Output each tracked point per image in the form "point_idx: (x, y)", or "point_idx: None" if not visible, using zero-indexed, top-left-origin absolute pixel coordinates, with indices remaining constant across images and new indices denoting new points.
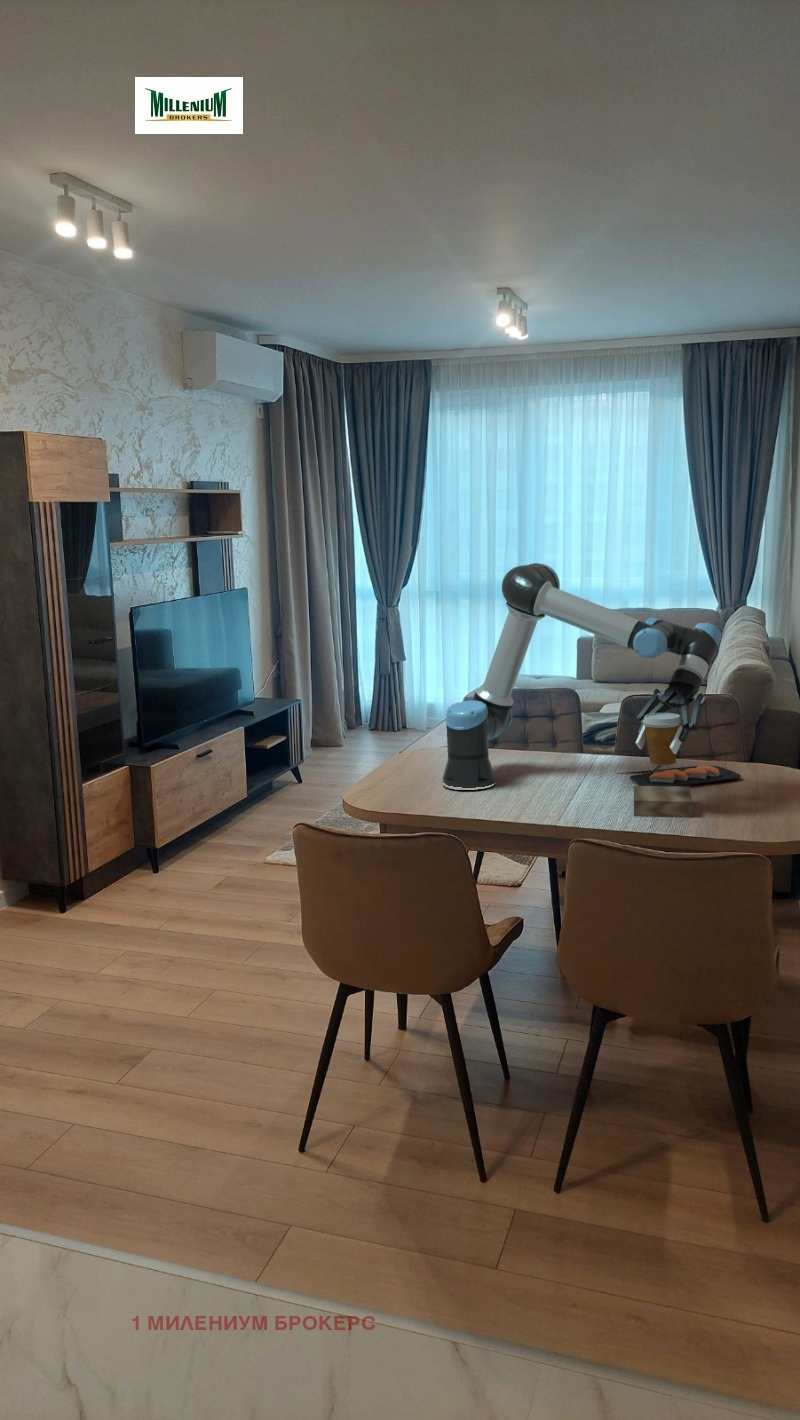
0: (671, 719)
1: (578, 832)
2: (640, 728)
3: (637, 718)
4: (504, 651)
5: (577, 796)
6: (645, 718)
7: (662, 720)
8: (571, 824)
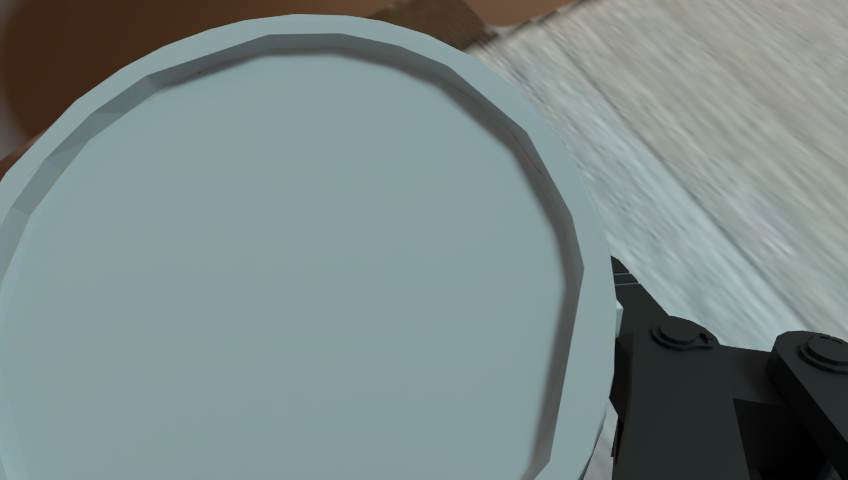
0: (32, 163)
1: (450, 19)
2: (623, 281)
3: (819, 336)
4: None
5: (750, 285)
6: (461, 63)
7: (152, 66)
8: (513, 52)
